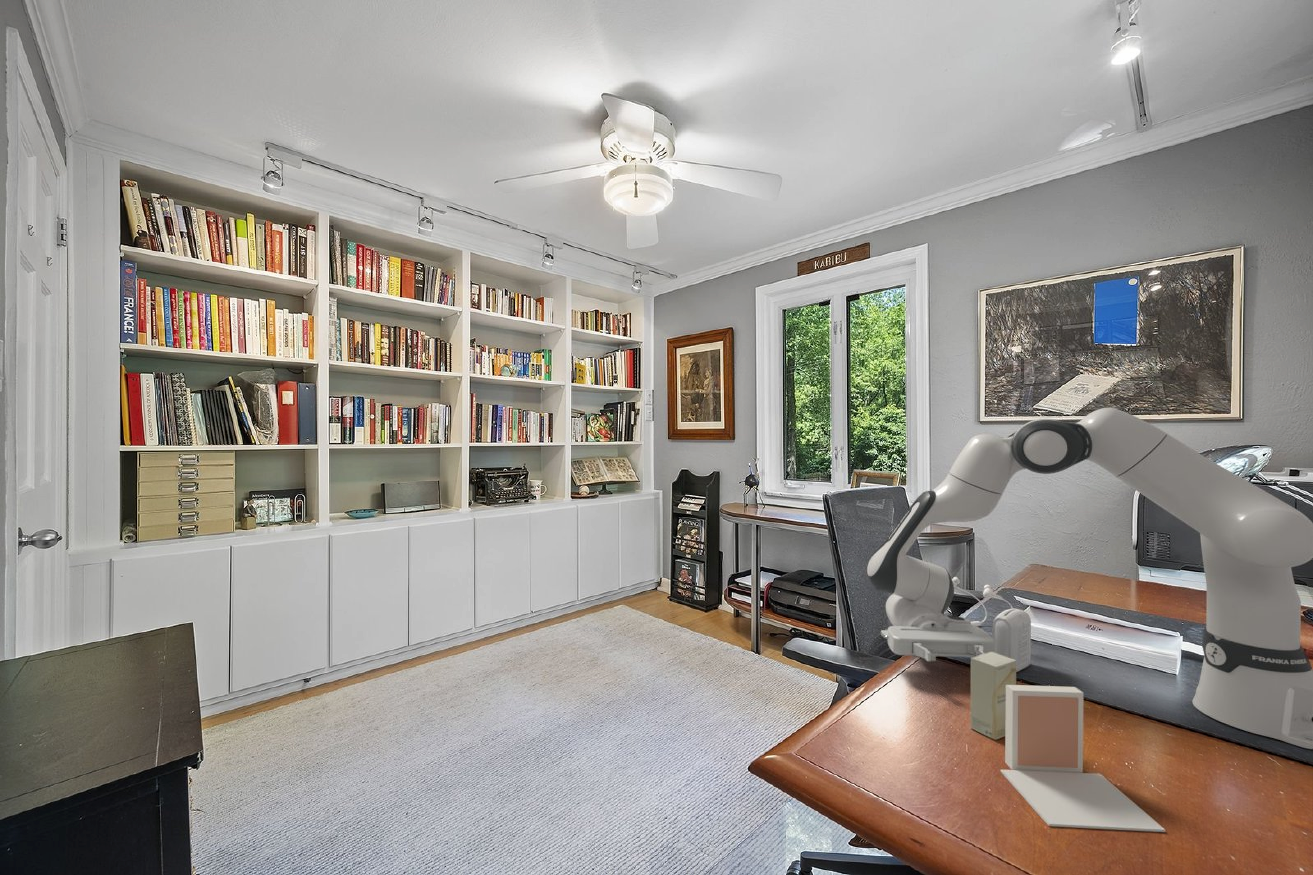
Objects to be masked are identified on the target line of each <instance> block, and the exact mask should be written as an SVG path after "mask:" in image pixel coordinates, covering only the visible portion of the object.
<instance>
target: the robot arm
mask: <svg viewBox="0 0 1313 875" xmlns="http://www.w3.org/2000/svg"><path fill="white" fill-rule="evenodd" d="M1085 460H1086V461H1089V462H1092V463H1093V464H1096V465H1098V466H1100V467H1101V468H1103V469H1104V470H1106V471H1107V472H1109V473H1110V474H1111V475H1113V476H1114V477H1116V478H1117V479H1119V480H1120V481H1122V482H1124V483H1125V484H1126V485H1128V486H1129V487H1131V488H1132V489H1134V490H1135V491H1137V492H1138V493H1139V494H1141V495H1142V496H1144V497H1145V498H1147V500H1150V501H1151V502H1153V503H1154V504H1155V505H1157V506H1159V507H1160V508H1162V509H1163V510H1165V511H1166V512H1168V513H1169V514H1171V515H1172V516H1174V517H1175V518H1177V519H1178V520H1180V521H1181V522H1183V523H1184V524H1186V525H1187V526H1189V527H1190V528H1192V529H1194V530H1195V531H1196V532H1198V533H1199V536H1200V538H1199V539H1200V546H1201V548H1200V549H1201V556H1202V562H1203V571H1204V577H1205V583H1206V607H1205V609H1206V614H1205V615H1206V618H1205V620H1206V621H1205V622H1206V623H1205V625H1206V626H1205V627H1204V628H1202V629H1203V630H1202V637H1201V638H1202V642H1201V643H1202V644H1201V645H1202V649H1203V650H1202V651H1203V655H1204V656H1203V660H1202V661H1203V662H1202V667H1201V671H1200V677H1199V682H1198V685H1197V687H1196V691H1195V694H1194V696H1193V699H1192V701H1191V702H1192V705H1193V706H1194V707H1195V708H1196V709H1197V710H1198V711H1200V712H1201V713H1202V714H1204V715H1206V716H1208V717H1210V718H1212V719H1214V720H1216V721H1218V722H1221V723H1223V724H1226V725H1227V726H1231V727H1234V728H1236V729H1240V730H1243V731H1245V732H1249V733H1251V734H1256V735H1260V736H1263V737H1268V738H1273V739H1275V740H1280V741H1283V742H1285V743H1288V744H1290V745H1294V746H1297V747H1300V748H1304V749H1307V750H1308V749H1309V750H1313V666H1312V664H1311V662H1310V660H1312V661H1313V647H1309V648H1305V647H1303V646H1302V645H1301V619H1302V618H1301V617H1302V615H1301V613H1302V612H1301V609H1302V605H1301V604H1302V602H1301V597H1300V595H1299V593H1298V590H1297V587H1296V584H1295V579H1294V575H1293V570H1292V568H1294V567H1298V566H1301V565H1304V564H1306V563H1308V562H1309V561H1311V560H1313V521H1312V520H1310V518H1309V517H1308V516H1306V514H1304V513H1303V512H1301V511H1300V510H1298V509H1296V508H1295V507H1293V506H1291V505H1290V504H1288V503H1287V502H1284V501H1283V500H1281V499H1279V498H1278V497H1276V496H1274V495H1273V494H1271V493H1269V492H1267V491H1266V490H1264V489H1262V488H1260V487H1259V486H1257V485H1255V484H1253V483H1252V482H1250V481H1249V480H1246V479H1245V478H1242V477H1240V476H1239V475H1237V474H1236V473H1233V472H1232V471H1230V470H1228V469H1226V467H1225V468H1224V467H1223V466H1222V465H1221V466H1220V465H1219V464H1217V463H1216V462H1214V461H1212V460H1210V459H1209V458H1207V457H1206V456H1204V455H1202V454H1200V453H1199V452H1197V451H1196V450H1194V449H1193V448H1191V447H1189V446H1188V445H1186V444H1184V443H1183V442H1181V441H1180V440H1178V439H1176V438H1175V437H1174V436H1172V435H1170V434H1169V433H1167V432H1165V431H1164V430H1162V429H1160V428H1158V427H1157V426H1154V425H1153V424H1151V423H1149V422H1148V421H1146V420H1143V419H1141V418H1139V417H1137V416H1135V415H1132V414H1130V413H1128V412H1126V411H1123V410H1120V409H1117V408H1115V407H1103V408H1099V409H1096V410H1094V411H1092V412H1089V413H1088V414H1087V415H1085V416H1084V417H1083V418H1082V419H1081V420H1080V421H1077V422H1067V421H1062V420H1057V419H1053V418H1052V419H1051V418H1038V419H1033V420H1030V421H1027V423H1025V424H1023V425H1022V426H1020V427H1019V429H1017V431H1015V432H1013V433H1011V434H1010V435H1008V436H1007V437H1004V436H1000V435H996V434H992V433H981V434H976V435H974V436H972V437H971V438H970V439H969V441H968V442H967V443H966V444H965V446H964V447H963V448H962V450H961V451H960V453H959V454H958V455H957V457H956V458H955V460H954V462H953V464H952V465H951V468H950V470H949V472H948V474H947V476H946V477H945V478H944V479H943V481H941V483H939V485H937V486H936V487H934V488H933V489H931V490H925V491H924V492H922V493H921V494H920V495H918V497H917V498H915V500H914V501H913V502H912V504H911V505H910V506H909V508H908V509H907V511H906V512H905V513H904V514H903V516H902V517H901V519H900V520H899V521H898V523H897V524H896V526H895V527H894V528H893V530H892V532H891V533H890V534H889V535H888V537H887V538H886V540H885V541H884V542H883V543H882V544H881V546H880V547H879V548H877V550H876V551H875V552H874V553H873V555H871V557H870V559H869V561H868V563H867V565H866V566H867V567H866V576H867V579H868V581H869V582H870V584H871V585H872V586H873V588H874V589H875V590H876V591H878V592H883V593H884V594H890V595H889V597H888V598H887V599H886V602H885V613H886V616H887V618H888V620H889V622H890V624H892V625H891V626H889V627H887V628H885V629H883V630H882V629H881V631H880V634H881V637H883V638H884V639H886V640H887V644H888V647H889V649H890V650H891V652H892V653H894V654H895V655H898V656H917V657H919V658H922V659H925V661H927V662H936V661H937V659H936V657H944V658H945V657H946V658H947V657H949V658H972V657H975V656H978V655H981V654H984V653H988V652H994V653H996V641H995V639H994V638H993V635H992V636H991V635H990V634H989V633H988V632H986V631H985V630H983V629H982V628H980V626H977V627H976V626H974V625H971V622H972V621H971V620H970V619H968V618H966V617H961V616H957V615H956V616H955V615H950V614H945V612H946V611H948V609H949V608H950V605H951V603H952V601H953V599H954V595H955V588H954V585H953V582H952V579H953V578H952V576H951V574H950V572H949V571H948V570H947V569H946V568H945V567H944V566H943V567H942V566H940V565H937V564H935V563H931V562H929V561H925V560H921V559H920V558H919V559H918V558H916V557H913V556H910V555H907V553H908V552H909V550H910V548H911V547H912V546H913V545H914V543H915V542H916V540H917V539H918V538H919V536H920V535H921V533H923V531H924V530H925V529H926V528H928V527H930V526H933V525H934V524H939V523H940V524H941V523H949V522H950V523H967V522H968V523H969V522H974V521H978V520H982V519H983V518H986V517H988V516H989V515H990V514H992V512H993V511H994V510H995V509H996V507H997V505H998V504H999V501H1000V499H1001V498H1002V496H1003V494H1004V492H1005V490H1006V488H1007V487H1008V484H1009V482H1010V481H1011V479H1012V478H1013V476H1014V475H1015V474H1016V473H1018V472H1019V471H1022V470H1028V471H1031V472H1033V473H1036V474H1043V475H1049V474H1056V473H1059V472H1062V471H1065V470H1067V469H1069V468H1071V467H1073V466H1074V465H1077V464H1079V463H1082V462H1083V461H1085Z"/></svg>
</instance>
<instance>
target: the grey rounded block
mask: <svg viewBox="0 0 1313 875" xmlns="http://www.w3.org/2000/svg"><path fill="white" fill-rule="evenodd" d="M1031 636H1032V621H1031V616H1030V615H1029V614H1028V612H1027V611H1025V610H1023V609H1019V608H1014V607H1013V609H1011V608H1008V609H1006V610H1003V611H1001V612H1000V613H998V614H997V616H996V617H995V618H994V619H993V622H992V637H993V638H994V639H995V641H996V653H997V654H1000V655H1003V656H1006V657H1009V658H1011V659H1014V660H1016V673H1017V672H1020V671H1022V670H1023V669H1026V668H1027V667H1029V666H1030V665H1031V655H1032V654H1031V653H1032V652H1031V650H1032V648H1031V647H1032V646H1031V644H1032V637H1031Z"/></svg>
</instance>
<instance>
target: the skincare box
mask: <svg viewBox="0 0 1313 875" xmlns="http://www.w3.org/2000/svg"><path fill="white" fill-rule="evenodd" d="M1006 685H1017V672H1016V660H1014V659H1011V658H1009V657H1006V656H1003V655H1000V654H997V653H994V652H988V653H984V654H981V655H978V656H975V657H970V728H971V729H972V730H974V731H976V732H978V733H979V734H982V735H984V736H986V737H988V738H990V739H992V740H998V739H1002V738H1003V737H1005V725H1006Z"/></svg>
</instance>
